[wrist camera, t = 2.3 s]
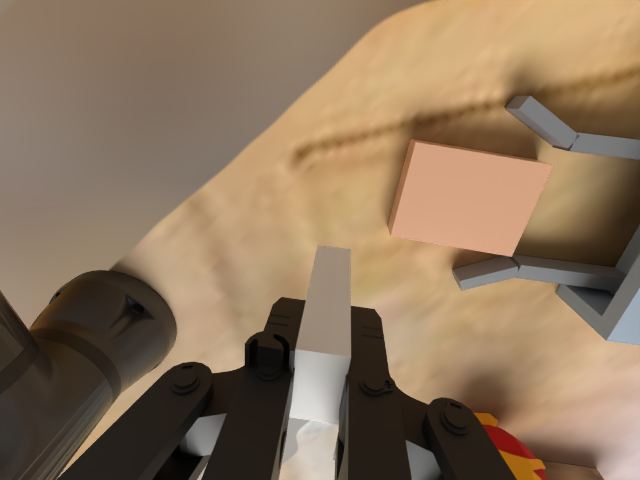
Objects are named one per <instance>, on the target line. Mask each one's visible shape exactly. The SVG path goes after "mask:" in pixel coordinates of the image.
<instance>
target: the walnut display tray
mask: <svg viewBox="0 0 640 480" xmlns="http://www.w3.org/2000/svg"><path fill="white" fill-rule="evenodd" d="M541 461H542V460H541ZM542 463H543V464H544V466H545V467H546V468H545V469H544V473H545V476H546V479H547V480H604V479H603V477H602V476H601V474H600V473H599V472H598V470H597V469H596V468H589V467H583V466H576V465H569V464H563V463H556V462H549V461H542Z"/></svg>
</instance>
